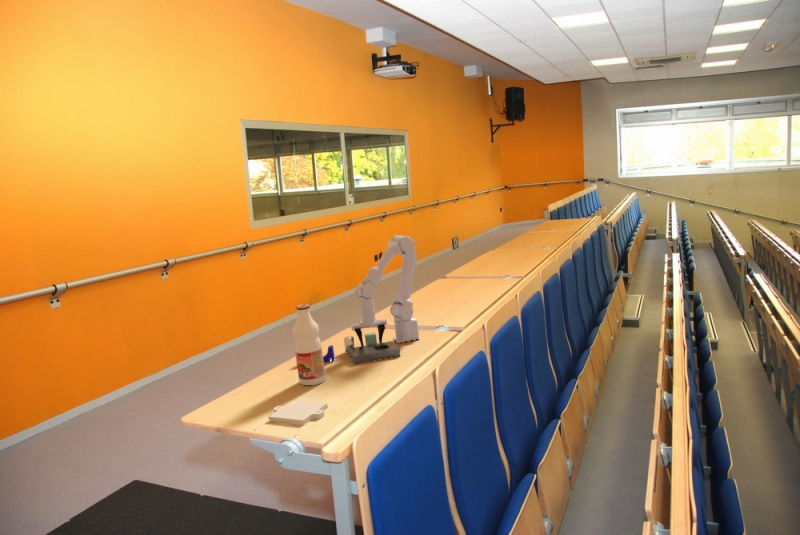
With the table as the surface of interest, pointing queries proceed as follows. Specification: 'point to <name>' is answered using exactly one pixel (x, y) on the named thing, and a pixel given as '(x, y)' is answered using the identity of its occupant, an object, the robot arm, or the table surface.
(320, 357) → the fruit juice
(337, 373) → the table surface
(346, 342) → the round peg
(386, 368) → the table surface
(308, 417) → the mounting plate
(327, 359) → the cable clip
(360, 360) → the bore block
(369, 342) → the square peg
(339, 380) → the table surface
